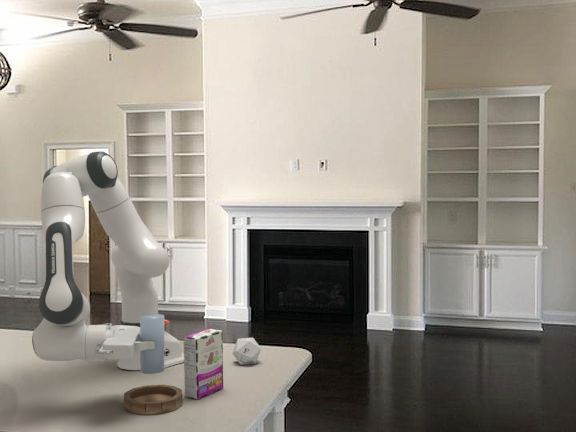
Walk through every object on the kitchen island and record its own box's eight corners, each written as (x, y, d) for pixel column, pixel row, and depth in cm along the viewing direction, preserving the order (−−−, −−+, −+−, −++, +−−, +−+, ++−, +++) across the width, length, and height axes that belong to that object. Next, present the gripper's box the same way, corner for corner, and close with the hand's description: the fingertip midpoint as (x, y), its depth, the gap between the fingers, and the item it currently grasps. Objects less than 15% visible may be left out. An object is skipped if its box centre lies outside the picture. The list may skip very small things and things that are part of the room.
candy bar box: (209, 385, 178) (209, 328, 177) (223, 388, 175) (223, 330, 174) (183, 397, 168) (182, 335, 167) (197, 400, 165) (197, 338, 165)
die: (227, 365, 201) (232, 345, 195) (237, 346, 207) (242, 327, 202) (250, 375, 200) (256, 356, 194) (260, 356, 206) (266, 337, 200)
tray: (163, 391, 173) (163, 381, 172) (193, 405, 162) (193, 394, 161) (113, 403, 163) (113, 393, 162) (142, 419, 152) (142, 407, 152)
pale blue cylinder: (156, 365, 166) (156, 312, 165) (168, 370, 161) (168, 316, 161) (136, 370, 162) (135, 315, 161) (148, 375, 157) (147, 319, 157)
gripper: (92, 339, 149) (152, 338, 151) (106, 321, 169) (158, 320, 171) (93, 366, 149) (152, 364, 151) (106, 345, 170) (158, 343, 171)
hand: (156, 341), depth 161 cm, fingers closed on pale blue cylinder, 6 cm apart
